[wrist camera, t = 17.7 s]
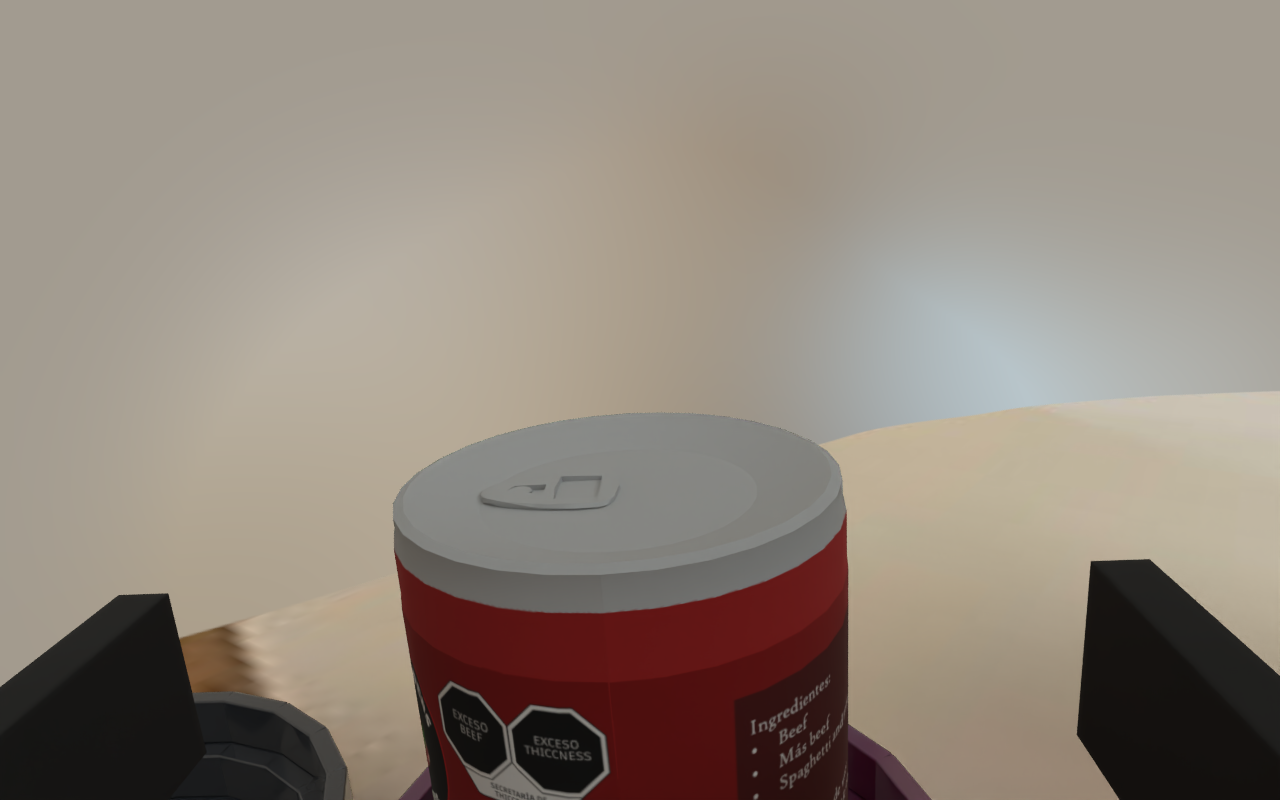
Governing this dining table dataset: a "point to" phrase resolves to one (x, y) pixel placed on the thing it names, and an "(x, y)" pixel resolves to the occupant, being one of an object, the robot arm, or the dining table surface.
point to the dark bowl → (263, 753)
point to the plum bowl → (875, 776)
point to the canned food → (629, 612)
